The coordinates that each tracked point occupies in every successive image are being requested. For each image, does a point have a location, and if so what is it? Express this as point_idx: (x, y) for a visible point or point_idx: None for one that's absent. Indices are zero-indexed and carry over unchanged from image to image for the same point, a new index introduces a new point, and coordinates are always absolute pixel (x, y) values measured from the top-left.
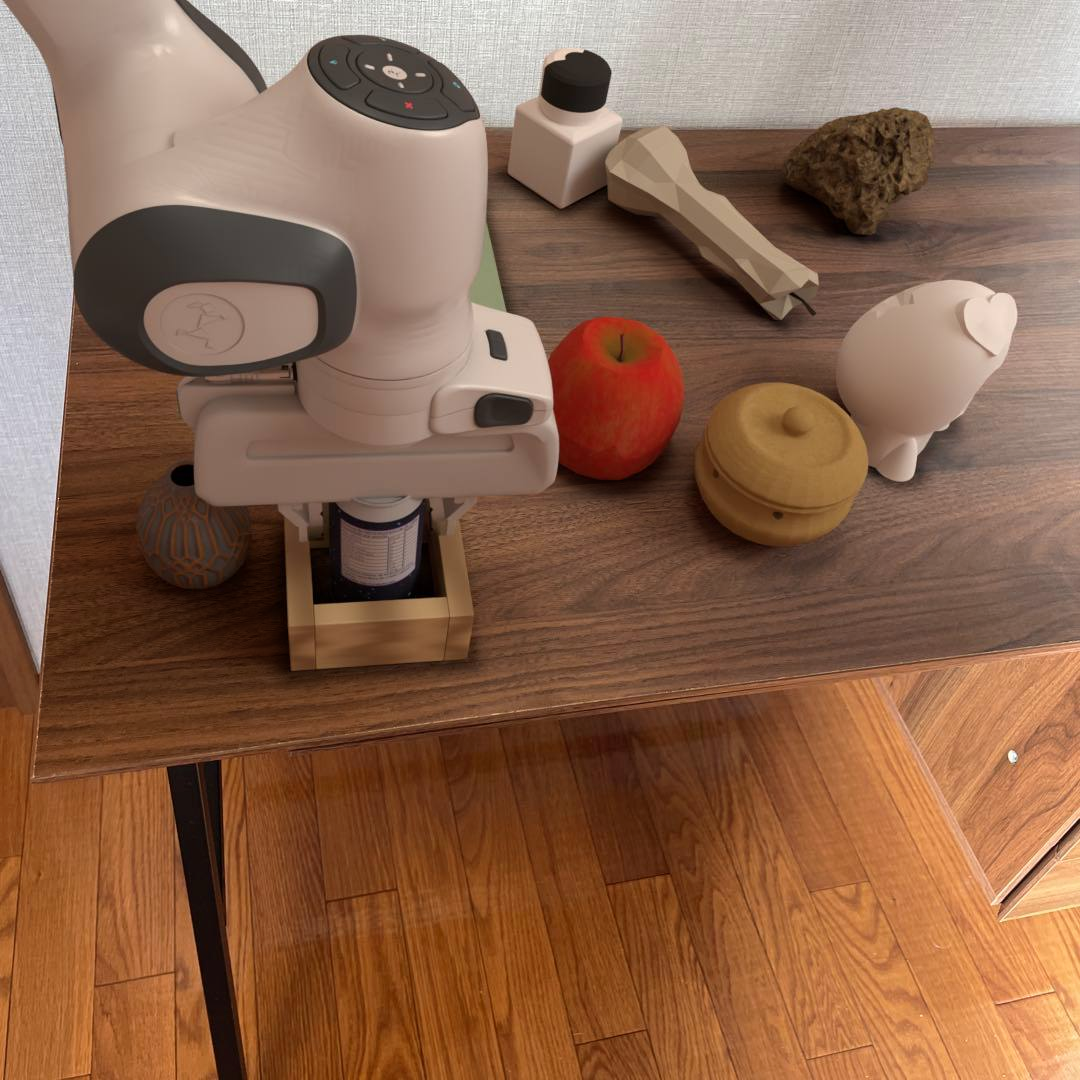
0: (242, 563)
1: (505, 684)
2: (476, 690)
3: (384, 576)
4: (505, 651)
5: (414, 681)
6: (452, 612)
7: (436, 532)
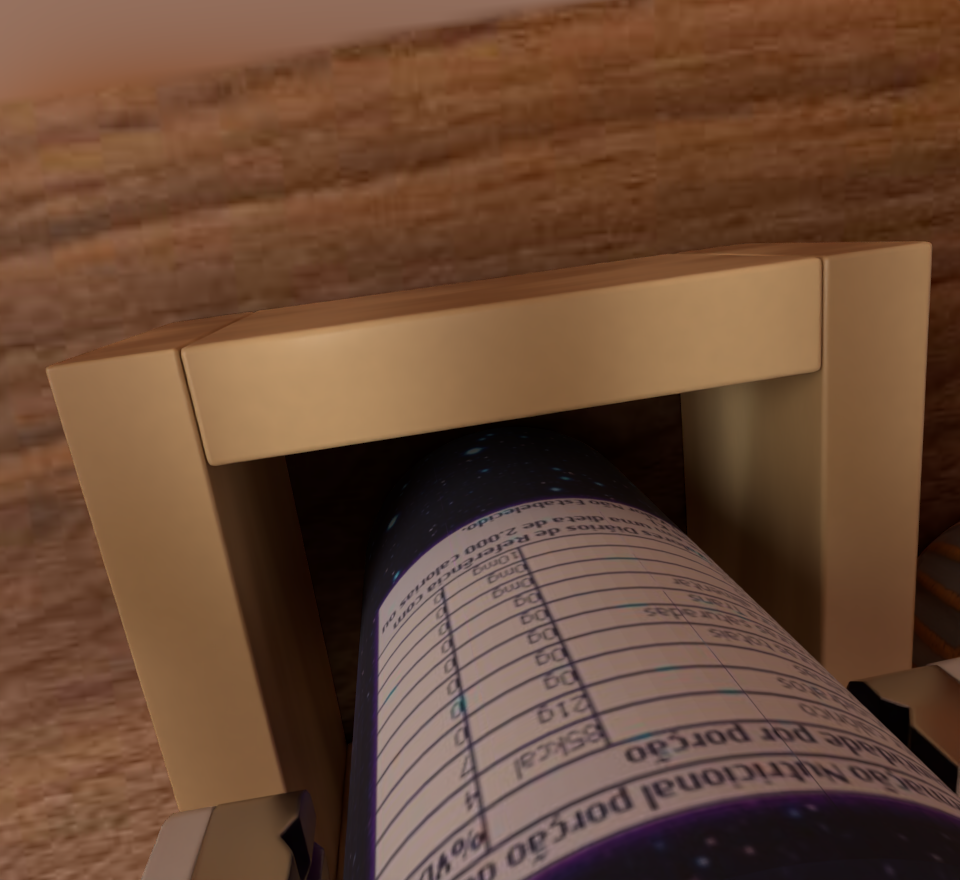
0: (923, 589)
1: (11, 223)
2: (120, 192)
3: (526, 531)
4: (32, 365)
5: (349, 222)
6: (164, 374)
7: (264, 818)
